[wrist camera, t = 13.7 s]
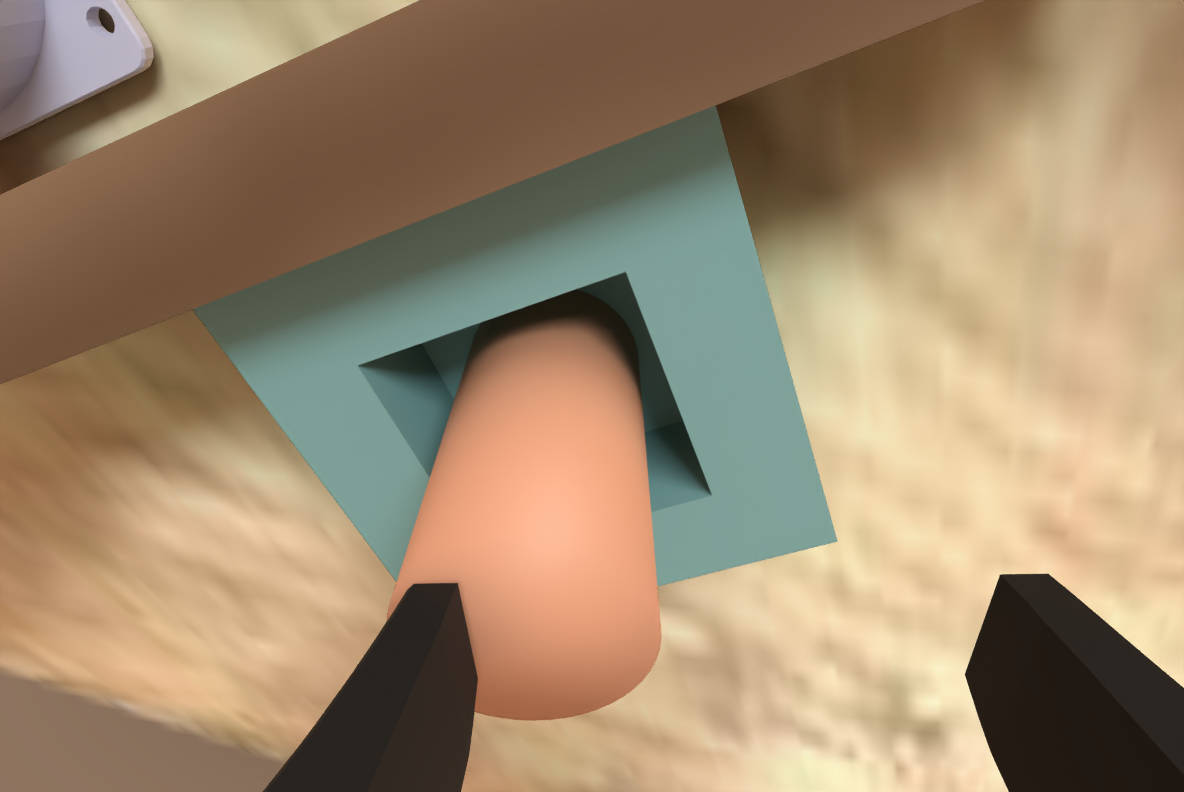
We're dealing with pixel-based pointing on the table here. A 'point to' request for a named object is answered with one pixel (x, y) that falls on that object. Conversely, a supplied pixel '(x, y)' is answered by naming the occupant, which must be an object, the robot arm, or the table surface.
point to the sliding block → (527, 276)
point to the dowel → (546, 512)
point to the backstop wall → (380, 145)
